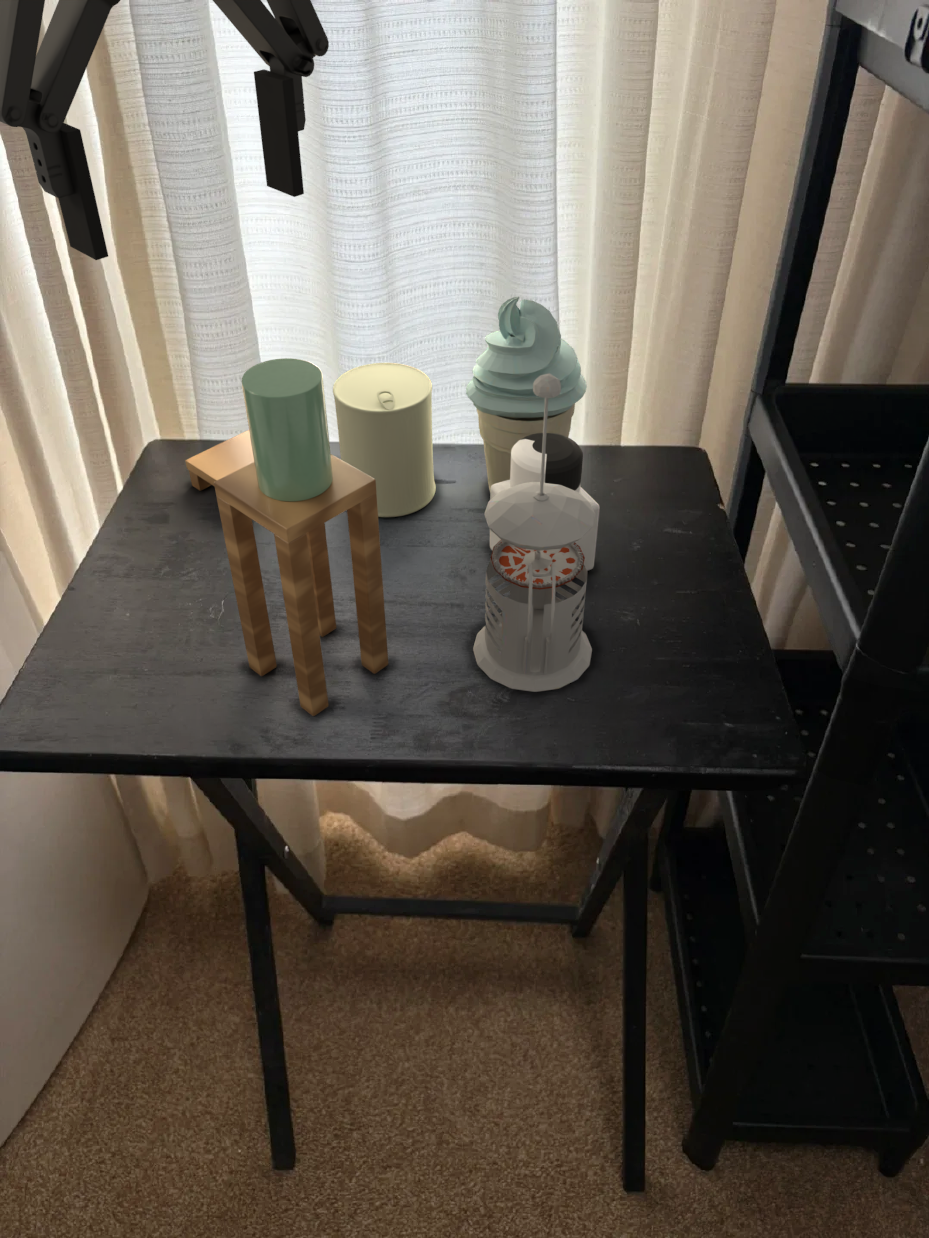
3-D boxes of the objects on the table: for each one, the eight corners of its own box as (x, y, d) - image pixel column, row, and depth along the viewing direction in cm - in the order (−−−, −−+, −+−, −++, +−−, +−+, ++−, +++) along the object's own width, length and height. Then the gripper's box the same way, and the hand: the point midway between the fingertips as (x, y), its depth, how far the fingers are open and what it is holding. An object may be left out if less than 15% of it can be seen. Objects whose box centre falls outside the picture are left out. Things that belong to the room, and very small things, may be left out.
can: (349, 523, 99) (338, 412, 91) (336, 471, 106) (325, 363, 98) (444, 510, 101) (442, 400, 93) (425, 459, 107) (422, 352, 100)
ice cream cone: (583, 516, 100) (601, 320, 87) (467, 519, 100) (467, 323, 86) (571, 459, 108) (586, 270, 94) (463, 461, 107) (462, 272, 94)
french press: (587, 610, 90) (614, 341, 73) (599, 708, 81) (632, 429, 65) (473, 609, 90) (474, 341, 73) (472, 708, 81) (473, 428, 65)
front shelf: (313, 717, 81) (286, 529, 69) (249, 667, 85) (213, 481, 73) (389, 664, 85) (376, 479, 73) (324, 619, 89) (302, 437, 77)
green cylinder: (290, 511, 70) (275, 406, 65) (242, 481, 73) (224, 377, 67) (348, 479, 73) (338, 376, 68) (300, 451, 76) (287, 350, 70)
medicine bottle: (555, 527, 99) (562, 416, 91) (595, 570, 94) (606, 456, 86) (488, 548, 96) (489, 435, 88) (525, 592, 92) (530, 478, 84)
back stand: (239, 518, 100) (235, 492, 98) (190, 485, 104) (184, 460, 102) (304, 483, 104) (301, 458, 102) (254, 453, 108) (250, 428, 106)
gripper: (-129, -246, 38) (27, 304, 52) (377, -257, 52) (393, 182, 66) (-207, -252, 42) (-42, 261, 56) (282, -261, 56) (317, 155, 70)
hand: (193, 219), depth 61 cm, fingers open, 13 cm apart
